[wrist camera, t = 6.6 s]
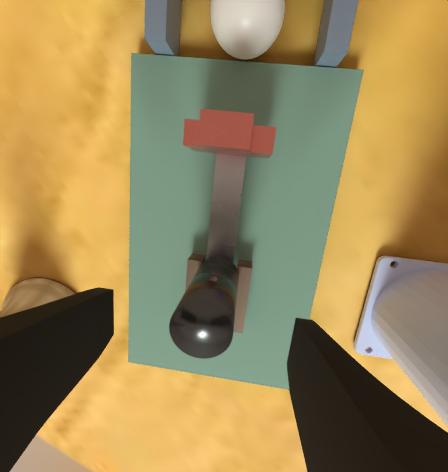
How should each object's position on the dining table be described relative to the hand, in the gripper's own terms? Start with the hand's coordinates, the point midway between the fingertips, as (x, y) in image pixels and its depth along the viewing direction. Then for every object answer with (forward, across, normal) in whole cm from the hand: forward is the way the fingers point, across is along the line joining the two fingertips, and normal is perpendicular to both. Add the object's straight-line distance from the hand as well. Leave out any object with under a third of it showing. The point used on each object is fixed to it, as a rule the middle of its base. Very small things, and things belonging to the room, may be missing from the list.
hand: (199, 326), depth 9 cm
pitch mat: (+9, 0, -1) cm, 9 cm away
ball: (+7, 0, -14) cm, 16 cm away
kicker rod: (+8, 0, -3) cm, 9 cm away
